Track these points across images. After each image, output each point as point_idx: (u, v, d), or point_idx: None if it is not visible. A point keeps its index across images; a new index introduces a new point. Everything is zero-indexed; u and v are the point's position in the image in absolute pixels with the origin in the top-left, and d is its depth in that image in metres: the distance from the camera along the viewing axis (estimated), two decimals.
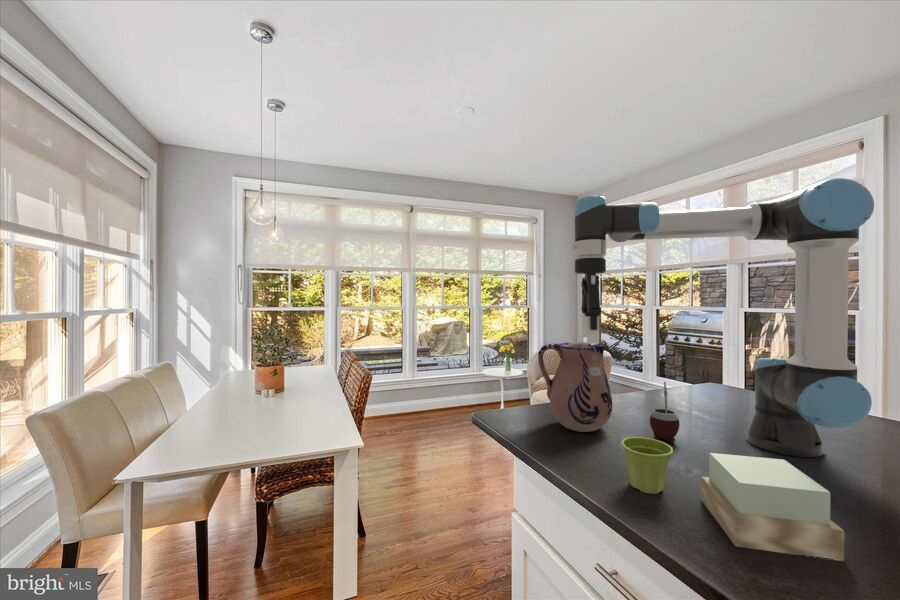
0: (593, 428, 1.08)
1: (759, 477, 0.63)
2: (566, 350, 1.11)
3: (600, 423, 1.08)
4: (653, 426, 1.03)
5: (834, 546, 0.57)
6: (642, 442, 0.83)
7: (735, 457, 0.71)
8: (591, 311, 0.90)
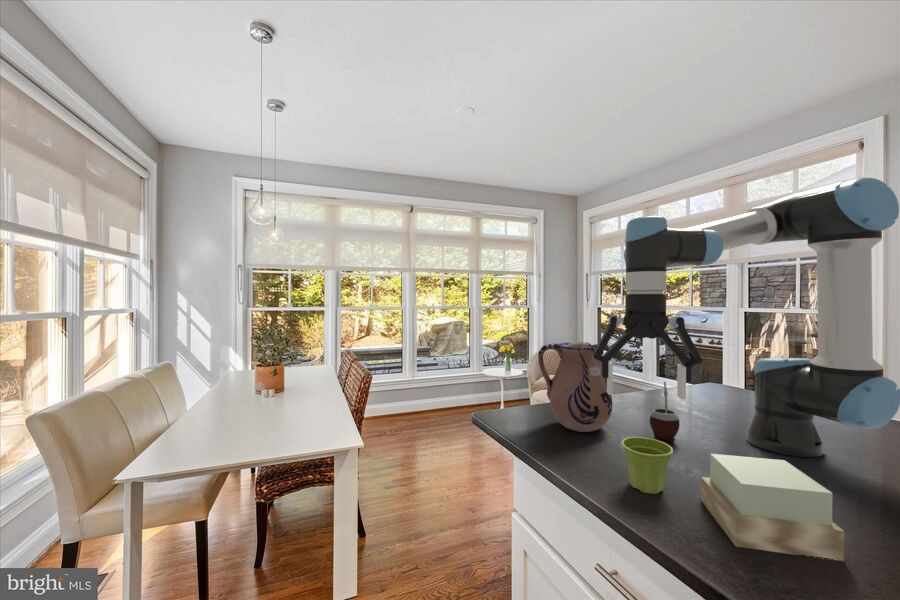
0: (593, 428, 1.08)
1: (761, 478, 0.63)
2: (566, 350, 1.11)
3: (600, 423, 1.08)
4: (653, 426, 1.03)
5: (834, 546, 0.57)
6: (642, 442, 0.83)
7: (736, 458, 0.71)
8: (593, 355, 0.83)
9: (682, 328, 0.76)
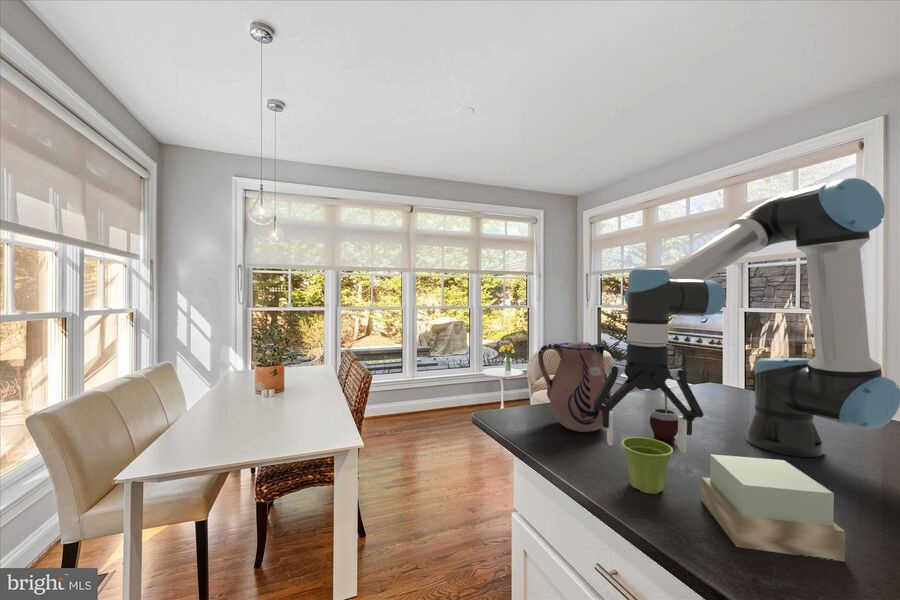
0: (593, 428, 1.08)
1: (762, 479, 0.63)
2: (566, 350, 1.11)
3: (600, 423, 1.08)
4: (653, 425, 1.03)
5: (835, 546, 0.57)
6: (642, 442, 0.83)
7: (736, 458, 0.71)
8: (593, 403, 0.82)
9: (683, 381, 0.76)
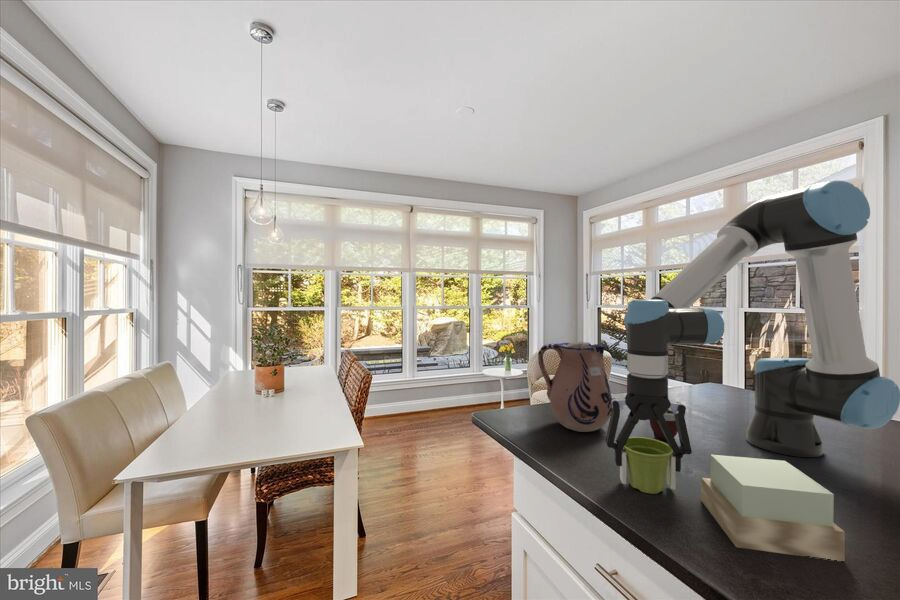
0: (593, 428, 1.08)
1: (761, 479, 0.63)
2: (566, 350, 1.11)
3: (600, 423, 1.08)
4: (653, 426, 1.03)
5: (834, 547, 0.57)
6: (642, 442, 0.83)
7: (736, 459, 0.71)
8: None
9: (681, 416, 0.76)
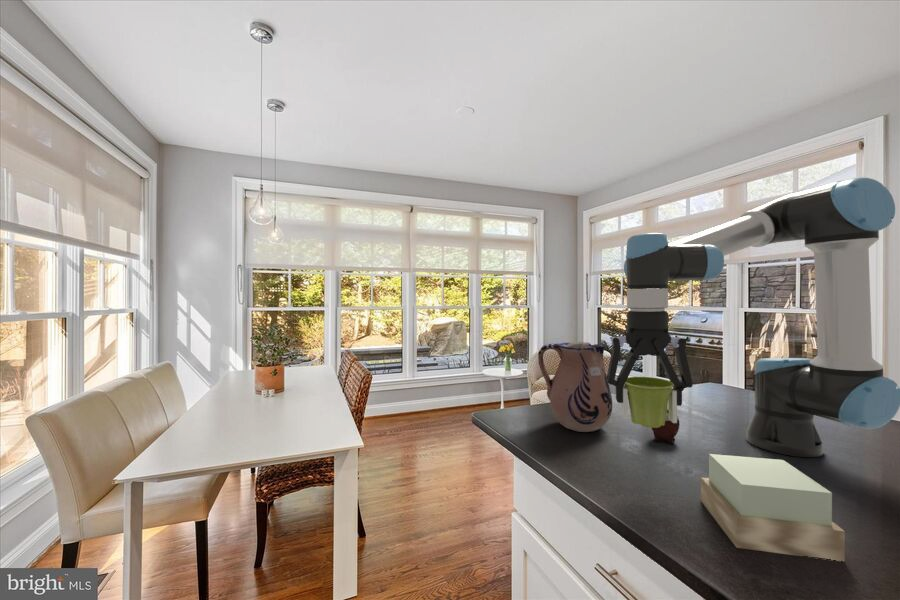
0: (593, 428, 1.08)
1: (760, 478, 0.63)
2: (566, 350, 1.11)
3: (600, 423, 1.08)
4: None
5: (834, 546, 0.57)
6: (643, 381, 0.83)
7: (735, 458, 0.71)
8: None
9: (682, 349, 0.76)
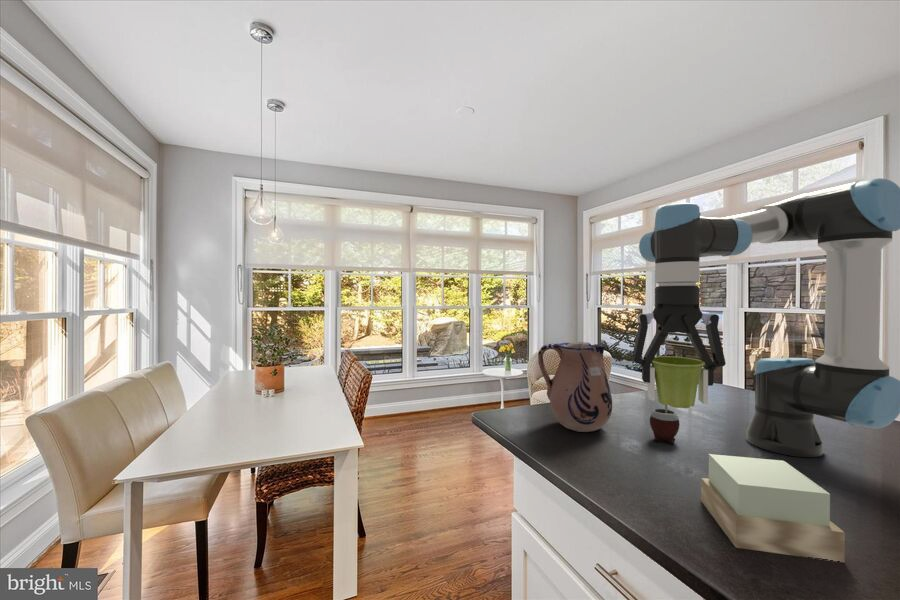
0: (593, 428, 1.08)
1: (758, 479, 0.63)
2: (566, 350, 1.11)
3: (600, 423, 1.08)
4: (653, 426, 1.03)
5: (834, 548, 0.57)
6: (670, 361, 0.79)
7: (734, 458, 0.71)
8: (632, 359, 0.78)
9: (714, 326, 0.72)
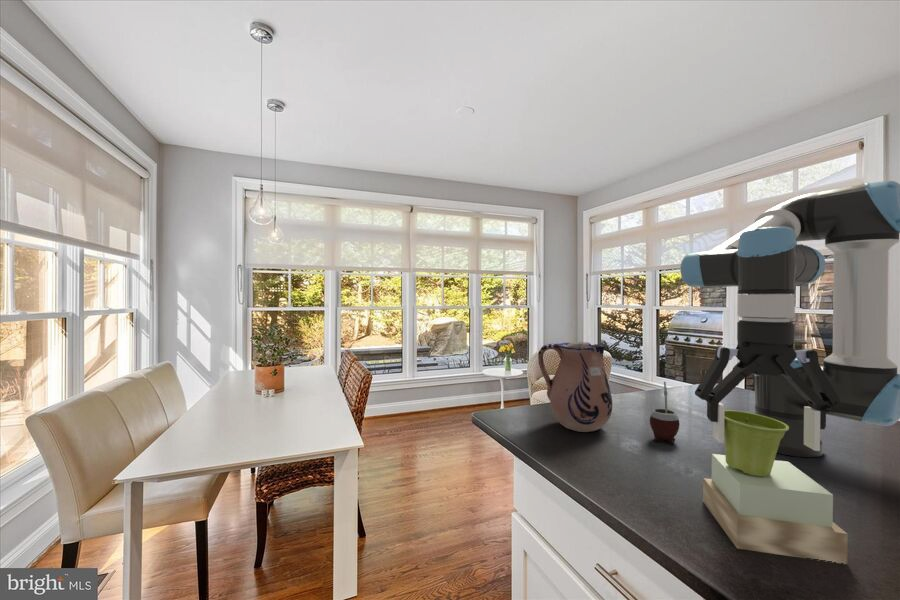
0: (593, 428, 1.08)
1: (760, 479, 0.63)
2: (566, 350, 1.11)
3: (600, 423, 1.08)
4: (653, 425, 1.03)
5: (837, 549, 0.57)
6: (741, 417, 0.70)
7: None
8: (696, 393, 0.69)
9: (815, 364, 0.63)
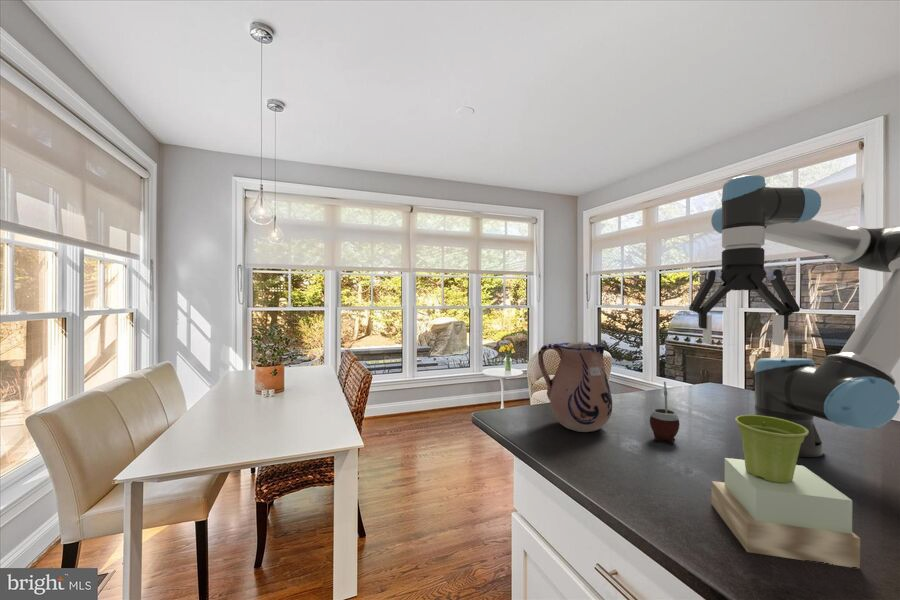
0: (593, 428, 1.08)
1: (776, 484, 0.61)
2: (566, 350, 1.11)
3: (600, 423, 1.08)
4: (653, 425, 1.03)
5: (849, 554, 0.56)
6: (758, 421, 0.68)
7: None
8: (689, 308, 0.88)
9: (780, 279, 0.82)
